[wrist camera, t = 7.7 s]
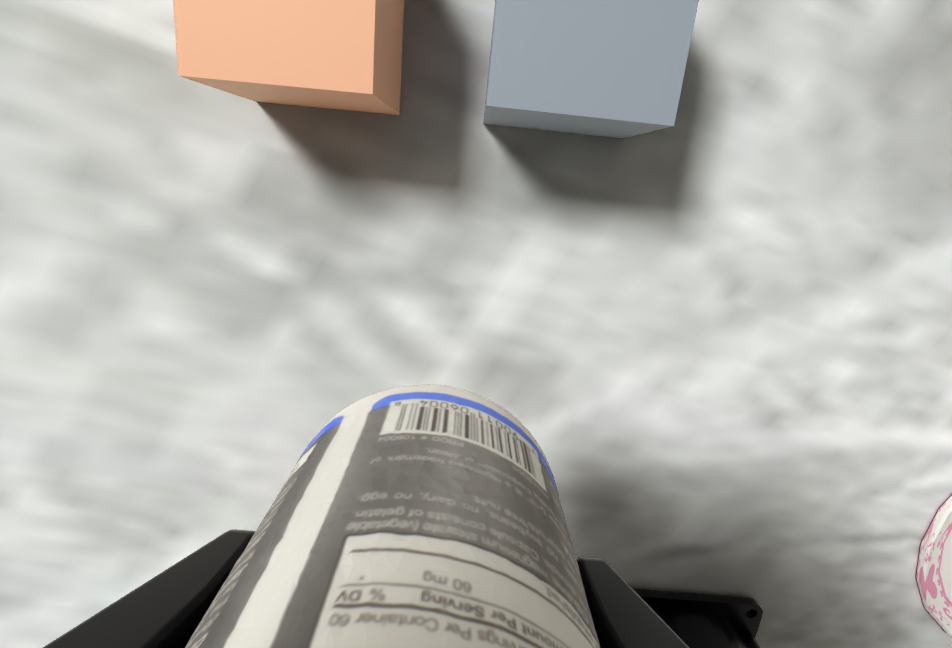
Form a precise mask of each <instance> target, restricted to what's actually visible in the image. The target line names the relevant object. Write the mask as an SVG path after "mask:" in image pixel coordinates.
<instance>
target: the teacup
mask: <svg viewBox="0 0 952 648" xmlns="http://www.w3.org/2000/svg"><path fill="white" fill-rule="evenodd" d="M916 579H917V582H918V586H919V590H920V593H921V597H922V601H923V604H924V607H925V609H926V610H927V611H928V612H929V613H930V614H931V616H932V617H933V618H934V619H935V620H936V621H937V623H938V624H939V625H940V626H941V627H942V629H943V630H944V631H945V632H946V633H947V634H948V635H950V636H952V495H951V496H950V497H949V498H948V500H947V501H946V502H945V503H944V504H943V505H942V506H941V507H940V508H939V510H938V512H937V514H936V516H935V518H934V519H933V521H932V523H931V525H930V527H929V529H928V531H927V533H926V535H925V537H924V539H923V541H922V542H921V547H920V554H919V561H918V568H917V575H916Z"/></svg>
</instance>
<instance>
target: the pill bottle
mask: <svg viewBox="0 0 952 648" xmlns="http://www.w3.org/2000/svg"><path fill="white" fill-rule="evenodd" d="M185 648H600V644H599V640H598V637H597V634H596V630H595V628H594V624H593V619H592V616H591V613H590V609H589V606H588V603H587V599H586V595H585V591H584V587H583V583H582V579H581V575H580V571H579V567H578V563H577V560H576V557H575V554H574V551H573V547H572V543H571V540H570V536H569V532H568V529H567V525H566V522H565V517H564V514H563V510H562V507H561V504H560V500H559V496H558V491H557V487H556V484H555V480H554V477H553V474H552V472H551V469H550V466H549V464H548V462H547V460H546V457H545V455H544V453H543V451H542V450H541V448H540V446H539V445H538V443H537V442H536V440H535V439H534V437H533V436H532V435H531V433H530V432H529V431H528V430H527V429H526V428H525V427H524V426H523V424H522V423H521V422H520V421H518V420H517V419H516V418H515V417H514V416H513V415H512V414H510V413H509V412H508V411H507V410H505V409H504V408H503V407H501V406H499V405H497V404H496V403H494V402H492V401H490V400H488V399H486V398H483V397H481V396H479V395H476V394H473V393H471V392H468V391H465V390H461V389H457V388H453V387H449V386H442V385H430V384H428V385H412V386H404V387H397V388H393V389H389V390H385V391H381V392H378V393H376V394H373V395H370V396H367V397H364V398H362V399H361V400H359V401H357V402H355V403H353V404H351V405H350V406H348V407H347V408H345V409H343V410H342V411H340V412H339V413H337V414H336V415H335V416H334V417H332V418H331V419H330V420H329V421H328V422H327V423H326V424H325V425H324V426H323V428H322V429H321V430H320V431H319V432H318V434H317V435H316V436H315V437H314V439H313V440H312V441H311V443H310V444H309V445H308V447H307V448H306V449H305V451H304V452H303V454H302V455H301V457H300V459H299V460H298V462H297V464H296V466H295V467H294V469H293V471H292V472H291V474H290V476H289V477H288V479H287V481H286V482H285V484H284V485H283V487H282V489H281V491H280V492H279V494H278V496H277V498H276V500H275V501H274V503H273V504H272V506H271V508H270V509H269V511H268V512H267V514H266V516H265V517H264V519H263V521H262V522H261V524H260V525H259V527H258V529H257V530H256V532H255V534H254V535H253V537H252V538H251V540H250V542H249V543H248V545H247V547H246V549H245V550H244V552H243V553H242V555H241V556H240V557H239V559H238V560H237V561H236V563H235V565H234V567H233V569H232V570H231V572H230V574H229V576H228V577H227V579H226V581H225V582H224V584H223V585H222V587H221V588H220V590H219V592H218V594H217V595H216V597H215V599H214V600H213V602H212V604H211V605H210V607H209V608H208V610H207V612H206V613H205V615H204V617H203V618H202V620H201V622H200V623H199V625H198V627H197V628H196V630H195V632H194V633H193V635H192V637H191V638H190V640H189V642H188V643H187V645H186V647H185Z"/></svg>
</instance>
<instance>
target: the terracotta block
mask: <svg viewBox="0 0 952 648" xmlns="http://www.w3.org/2000/svg"><path fill="white" fill-rule="evenodd" d="M173 4H174V19H175V34H176V49H177V63H178V76H181V77H184V78H187V79H190V80H193V81H196V82H199V83H202V84H205V85H208V86H211V87H214V88H217V89H220V90H223V91H226V92H229V93H232V94H235V95H238V96H241V97H244V98H247V99H250V100H253V101H256V102H266V103H277V104H287V105H298V106H308V107H319V108H330V109H340V110H351V111H361V112H372V113H383V114H393V115H400V93H401V70H402V47H403V23H404V0H173Z"/></svg>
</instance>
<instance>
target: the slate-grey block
mask: <svg viewBox="0 0 952 648" xmlns="http://www.w3.org/2000/svg"><path fill="white" fill-rule="evenodd" d="M698 1H699V0H495V11H494V21H493V31H492V41H491V51H490V61H489V72H488V82H487V92H486V102H485V112H484V123H483V124H492V125H501V126H510V127H519V128H529V129H538V130H547V131H556V132H566V133H575V134H584V135H593V136H603V137H612V138H621V139H623V138H628V137H632V136H636V135H640V134H644V133H648V132H652V131H656V130H660V129H664V128H669V127H673V126H674V124H675V119H676V114H677V109H678V104H679V99H680V94H681V88H682V83H683V78H684V73H685V68H686V63H687V58H688V53H689V47H690V42H691V37H692V32H693V27H694V22H695V17H696V12H697V6H698Z"/></svg>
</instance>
